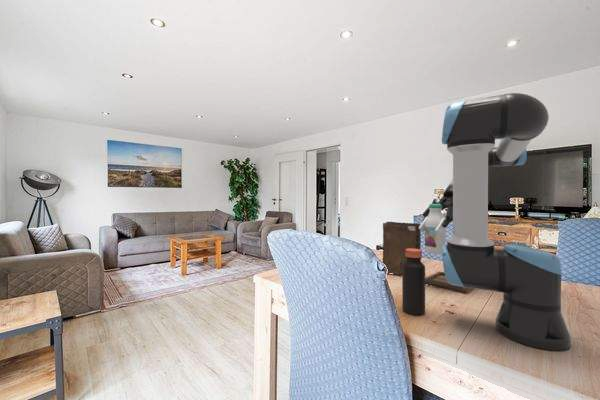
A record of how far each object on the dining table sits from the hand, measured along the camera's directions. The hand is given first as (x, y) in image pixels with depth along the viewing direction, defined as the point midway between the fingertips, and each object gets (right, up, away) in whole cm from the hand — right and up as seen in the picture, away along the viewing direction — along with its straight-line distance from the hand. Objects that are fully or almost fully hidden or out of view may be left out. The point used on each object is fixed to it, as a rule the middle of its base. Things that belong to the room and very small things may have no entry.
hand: (429, 231), depth 108 cm
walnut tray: (+12, -23, +5) cm, 27 cm away
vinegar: (-15, -24, -21) cm, 35 cm away
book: (-4, -23, +19) cm, 31 cm away
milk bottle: (+3, -9, +2) cm, 10 cm away
